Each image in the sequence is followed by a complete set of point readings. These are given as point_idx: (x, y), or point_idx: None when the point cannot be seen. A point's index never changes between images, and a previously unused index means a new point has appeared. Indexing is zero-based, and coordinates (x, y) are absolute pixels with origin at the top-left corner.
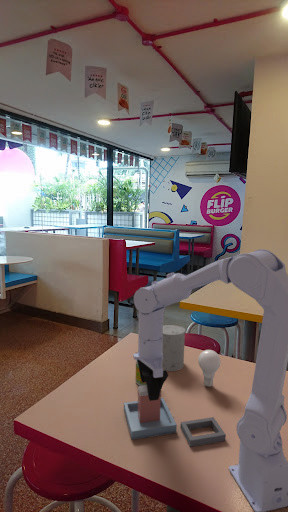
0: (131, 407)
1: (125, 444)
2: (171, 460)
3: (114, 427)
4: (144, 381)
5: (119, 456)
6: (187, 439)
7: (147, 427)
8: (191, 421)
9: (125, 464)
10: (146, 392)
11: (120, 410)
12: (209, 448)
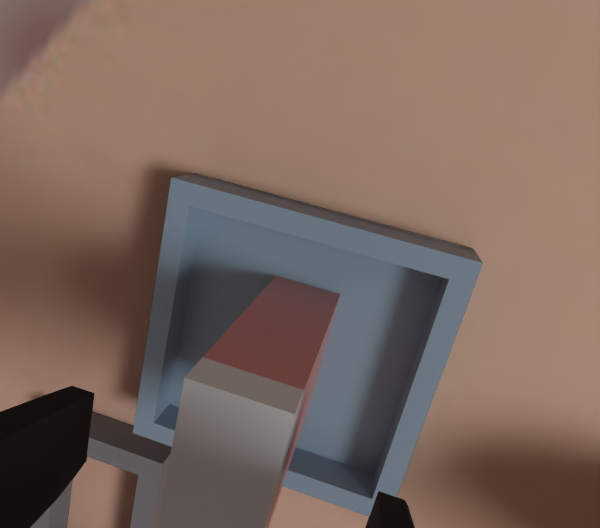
0: (436, 299)
1: (177, 125)
2: (19, 285)
3: (336, 117)
4: (372, 518)
5: (110, 57)
6: None
7: (170, 283)
8: (148, 509)
9: (55, 68)
10: (179, 426)
11: (480, 225)
12: None
